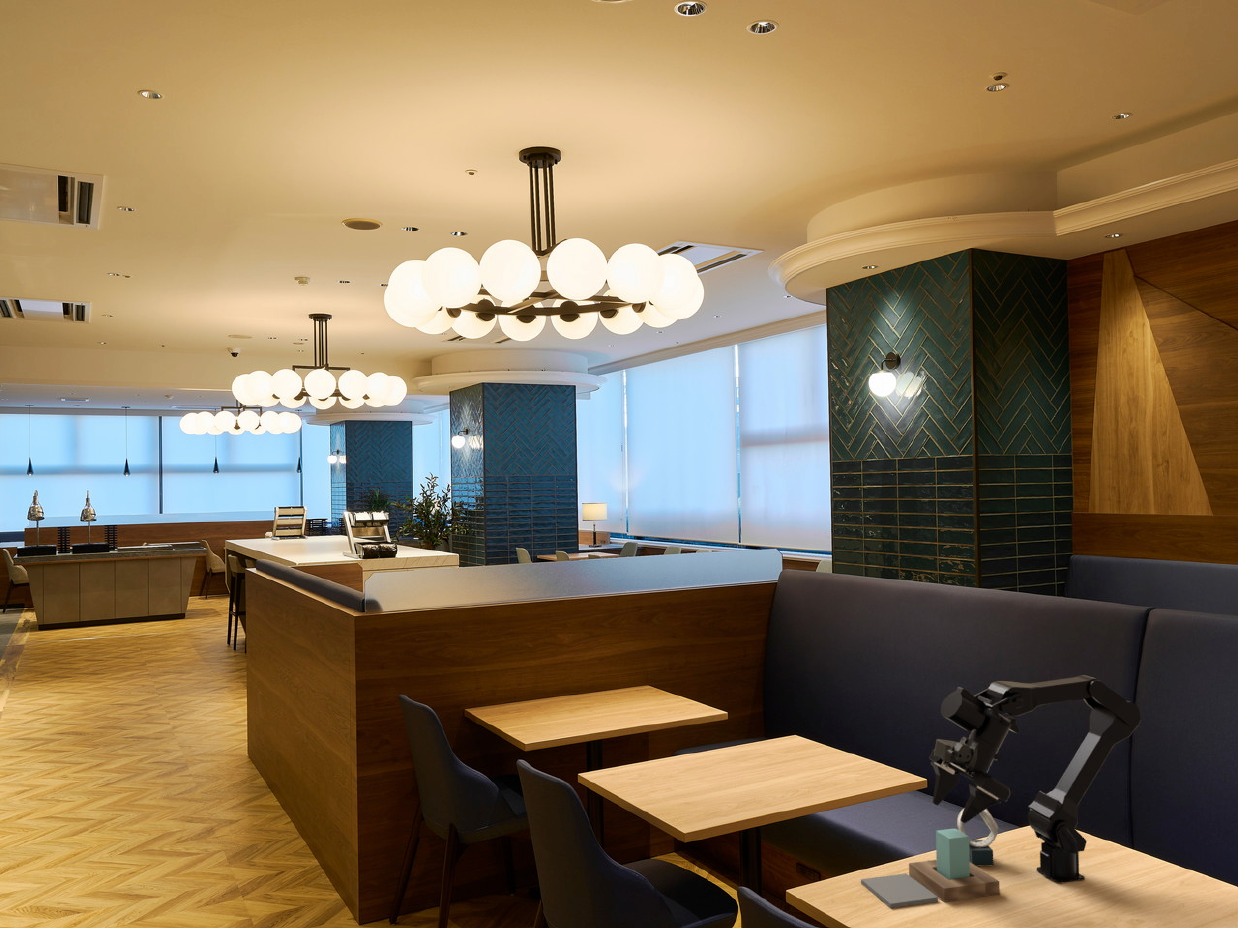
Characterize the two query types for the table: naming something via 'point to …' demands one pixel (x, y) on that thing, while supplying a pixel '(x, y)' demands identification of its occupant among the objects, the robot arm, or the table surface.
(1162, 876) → the table surface
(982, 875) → the pocket
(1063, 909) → the table surface
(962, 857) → the peg
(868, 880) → the pad
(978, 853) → the watch
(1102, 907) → the table surface
